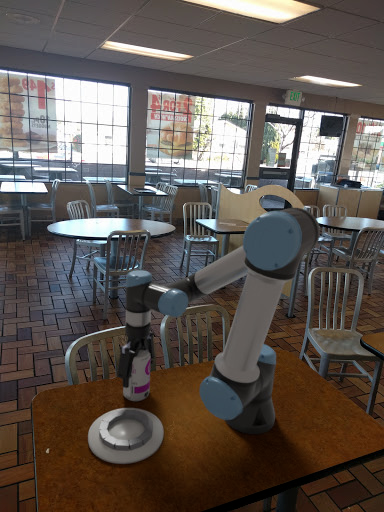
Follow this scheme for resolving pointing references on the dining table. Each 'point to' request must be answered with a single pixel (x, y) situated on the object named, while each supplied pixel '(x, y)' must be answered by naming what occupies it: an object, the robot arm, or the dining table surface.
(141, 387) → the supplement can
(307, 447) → the dining table surface
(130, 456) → the round tray
